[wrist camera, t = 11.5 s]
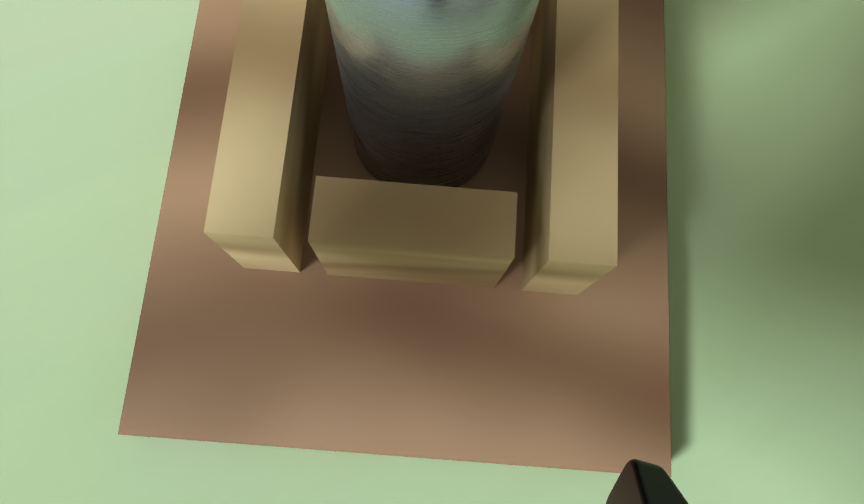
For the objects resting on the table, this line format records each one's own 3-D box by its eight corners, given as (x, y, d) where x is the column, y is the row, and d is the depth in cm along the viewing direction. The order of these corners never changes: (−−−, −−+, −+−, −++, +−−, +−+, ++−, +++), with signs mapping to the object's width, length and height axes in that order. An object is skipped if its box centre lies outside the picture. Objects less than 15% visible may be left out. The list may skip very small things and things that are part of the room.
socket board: (656, 473, 17) (740, 493, 13) (134, 433, 17) (39, 439, 13) (650, -87, 22) (711, -213, 17) (236, -123, 22) (192, -260, 17)
